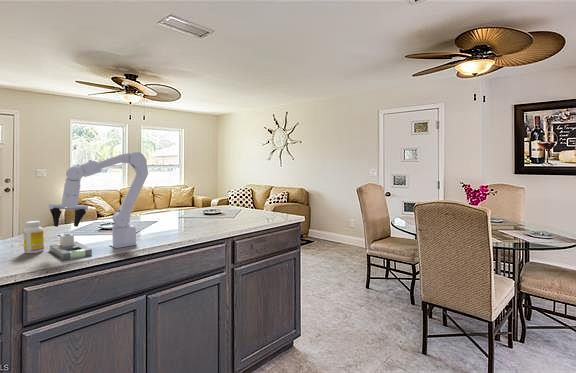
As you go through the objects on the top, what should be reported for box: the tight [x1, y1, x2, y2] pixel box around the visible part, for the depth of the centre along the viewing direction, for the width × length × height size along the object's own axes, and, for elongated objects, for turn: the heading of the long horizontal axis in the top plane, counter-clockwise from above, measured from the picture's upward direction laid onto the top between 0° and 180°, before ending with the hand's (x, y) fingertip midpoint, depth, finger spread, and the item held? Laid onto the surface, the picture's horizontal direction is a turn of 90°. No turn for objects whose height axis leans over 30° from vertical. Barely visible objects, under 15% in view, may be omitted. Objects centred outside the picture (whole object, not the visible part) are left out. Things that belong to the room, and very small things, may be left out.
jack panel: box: [49, 240, 93, 261], centre depth 139 cm, size 10×20×2 cm, turn 48°
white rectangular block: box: [59, 232, 75, 247], centre depth 142 cm, size 4×4×8 cm
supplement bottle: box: [22, 220, 45, 254], centre depth 140 cm, size 7×7×13 cm
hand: (66, 226), depth 141 cm, fingers open, 7 cm apart
